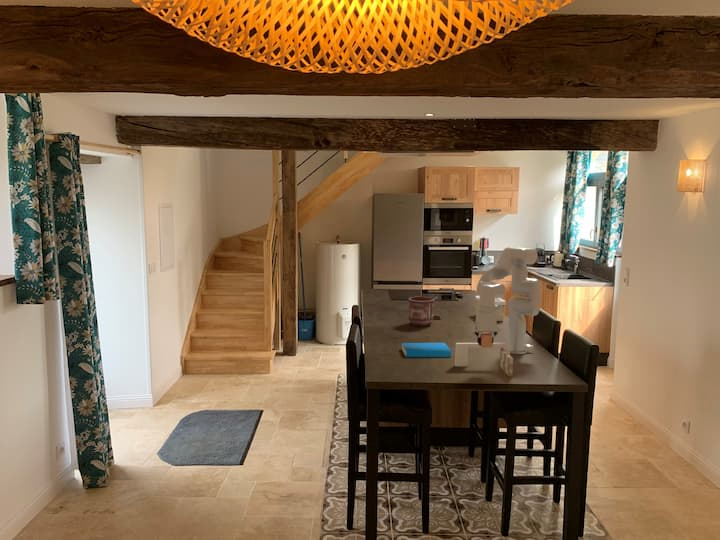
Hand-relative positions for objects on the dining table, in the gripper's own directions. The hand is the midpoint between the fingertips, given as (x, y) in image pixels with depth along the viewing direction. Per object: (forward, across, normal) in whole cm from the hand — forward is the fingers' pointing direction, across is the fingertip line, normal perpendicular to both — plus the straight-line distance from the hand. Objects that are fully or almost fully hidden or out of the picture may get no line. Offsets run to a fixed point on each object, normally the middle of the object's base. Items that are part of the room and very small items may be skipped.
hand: (485, 344), depth 291 cm
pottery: (+14, +18, -102) cm, 104 cm away
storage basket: (+14, -34, -123) cm, 128 cm away
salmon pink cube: (+1, 0, 0) cm, 1 cm away
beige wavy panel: (+14, -11, +1) cm, 17 cm away
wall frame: (+14, -1, -9) cm, 16 cm away
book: (+14, +25, -33) cm, 44 cm away
